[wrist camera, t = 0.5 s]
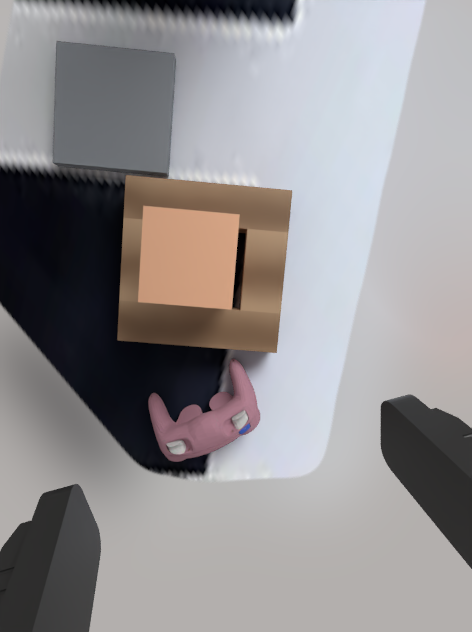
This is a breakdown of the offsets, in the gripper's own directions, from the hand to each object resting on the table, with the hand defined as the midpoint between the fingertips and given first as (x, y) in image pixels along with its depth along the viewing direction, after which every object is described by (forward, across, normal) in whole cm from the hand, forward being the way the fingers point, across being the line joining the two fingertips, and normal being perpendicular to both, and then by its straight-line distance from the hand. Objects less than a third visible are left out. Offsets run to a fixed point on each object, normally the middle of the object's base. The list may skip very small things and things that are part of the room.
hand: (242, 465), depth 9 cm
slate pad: (+31, +3, -13) cm, 34 cm away
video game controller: (+23, 0, +13) cm, 27 cm away
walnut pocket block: (+26, -2, +1) cm, 26 cm away
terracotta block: (+26, -2, +1) cm, 26 cm away
